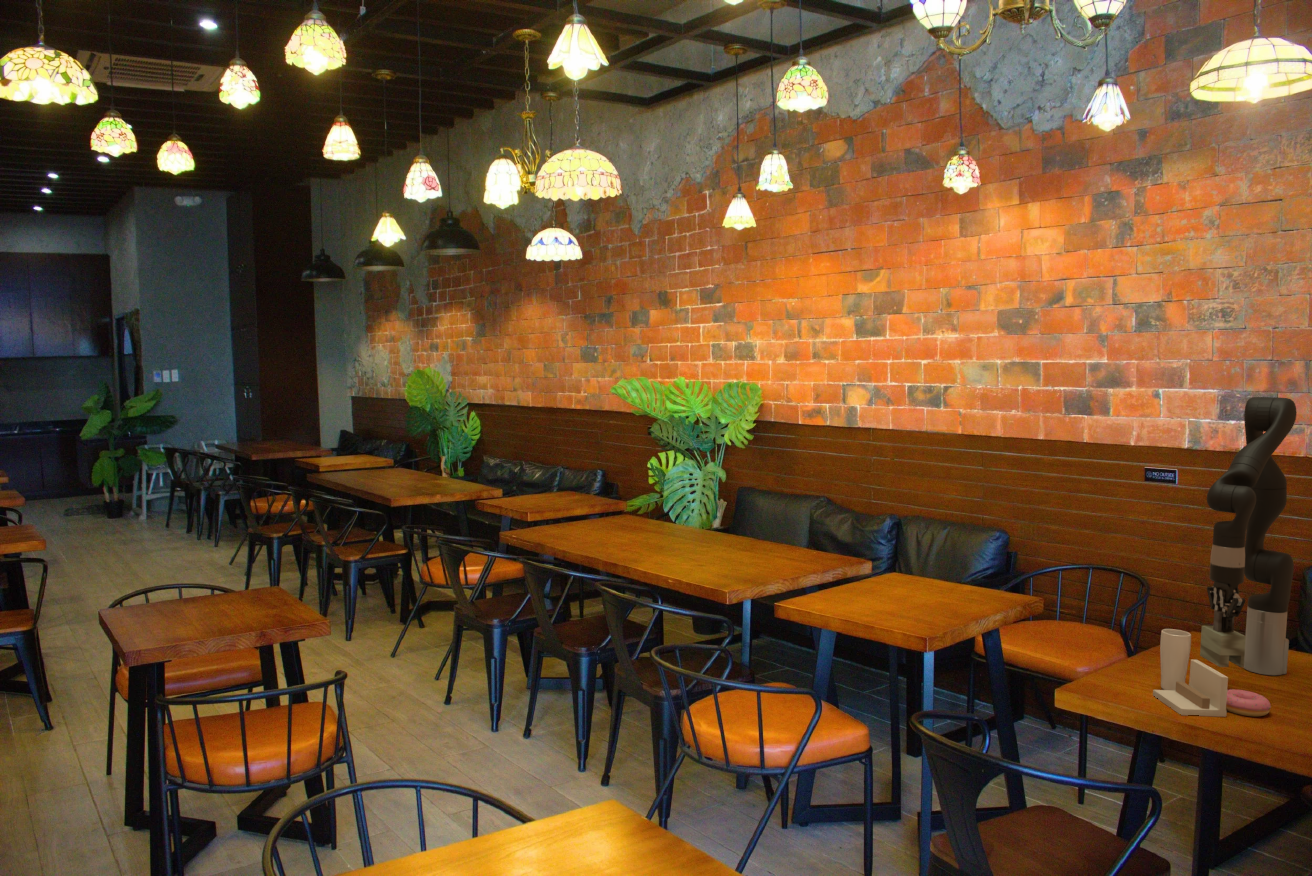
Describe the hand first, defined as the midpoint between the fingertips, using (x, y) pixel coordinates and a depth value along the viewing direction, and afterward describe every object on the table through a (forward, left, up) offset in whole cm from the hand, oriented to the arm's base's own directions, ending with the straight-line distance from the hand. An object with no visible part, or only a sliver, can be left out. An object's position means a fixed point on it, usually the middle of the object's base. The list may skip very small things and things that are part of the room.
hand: (1223, 629), depth 244 cm
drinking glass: (+12, +1, -16) cm, 20 cm away
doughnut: (+2, +14, -16) cm, 22 cm away
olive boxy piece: (0, 0, -8) cm, 8 cm away
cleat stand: (+14, +13, -16) cm, 24 cm away
